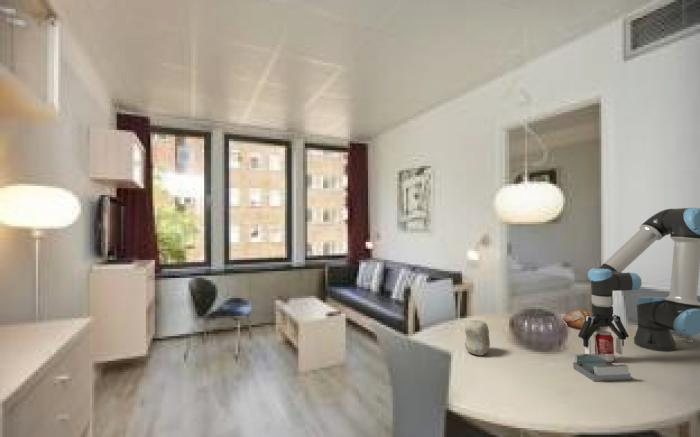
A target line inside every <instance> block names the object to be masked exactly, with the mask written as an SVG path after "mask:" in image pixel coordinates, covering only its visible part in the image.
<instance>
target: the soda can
mask: <svg viewBox="0 0 700 437" xmlns="http://www.w3.org/2000/svg"><path fill="white" fill-rule="evenodd" d="M593 335H594V336H593V341H594V342H593V345H594V354H598V353H604V354H606V361H608V362H610V363H612V362H614V361H615V349H614V348H615V347H614V336H613V335H612V332H610V331H607V330H602V329H598V330H596V331H595V332H594V333H593Z"/></svg>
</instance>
